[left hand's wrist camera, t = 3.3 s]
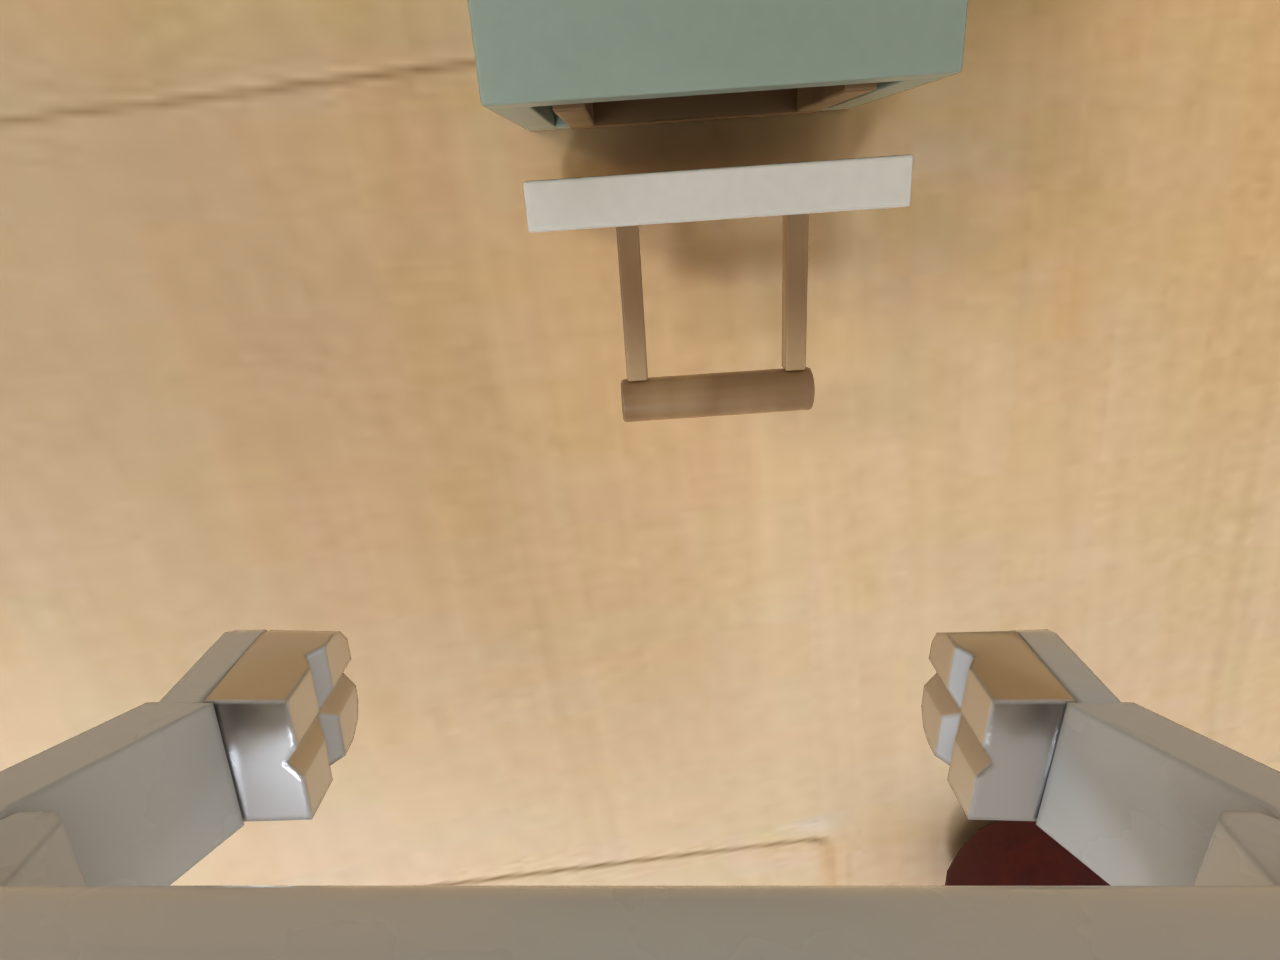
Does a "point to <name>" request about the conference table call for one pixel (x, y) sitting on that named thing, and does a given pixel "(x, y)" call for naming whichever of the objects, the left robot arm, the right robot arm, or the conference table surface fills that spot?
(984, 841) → the dark maroon ball
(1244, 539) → the conference table surface
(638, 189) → the drawer
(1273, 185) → the conference table surface
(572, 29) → the cabinet
